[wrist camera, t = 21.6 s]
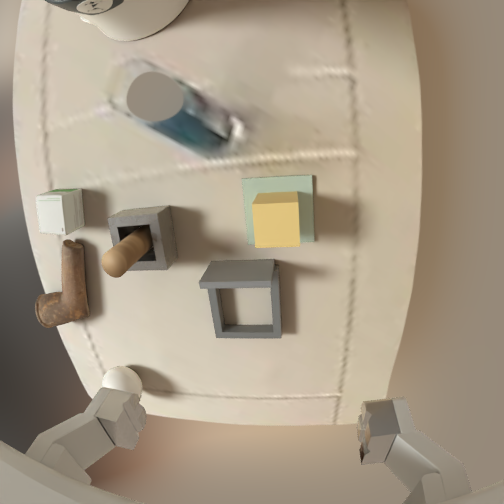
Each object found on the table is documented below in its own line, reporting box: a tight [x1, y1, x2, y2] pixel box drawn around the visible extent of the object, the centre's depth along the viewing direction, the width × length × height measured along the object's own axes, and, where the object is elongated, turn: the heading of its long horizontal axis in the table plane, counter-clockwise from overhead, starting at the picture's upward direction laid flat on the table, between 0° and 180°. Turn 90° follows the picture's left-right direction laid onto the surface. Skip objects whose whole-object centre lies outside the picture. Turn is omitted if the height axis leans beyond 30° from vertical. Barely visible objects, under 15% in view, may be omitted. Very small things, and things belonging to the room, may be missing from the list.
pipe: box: [35, 240, 90, 328], centre depth 43 cm, size 6×17×10 cm
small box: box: [36, 189, 85, 235], centre depth 38 cm, size 6×6×5 cm
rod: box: [102, 224, 154, 277], centre depth 35 cm, size 3×3×10 cm
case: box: [199, 259, 282, 338], centre depth 39 cm, size 11×9×6 cm
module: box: [252, 191, 300, 248], centre depth 34 cm, size 4×4×6 cm
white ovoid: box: [102, 366, 143, 398], centre depth 48 cm, size 10×7×7 cm
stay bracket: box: [107, 205, 178, 271], centre depth 38 cm, size 7×7×4 cm
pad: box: [242, 175, 314, 245], centre depth 37 cm, size 8×8×1 cm
